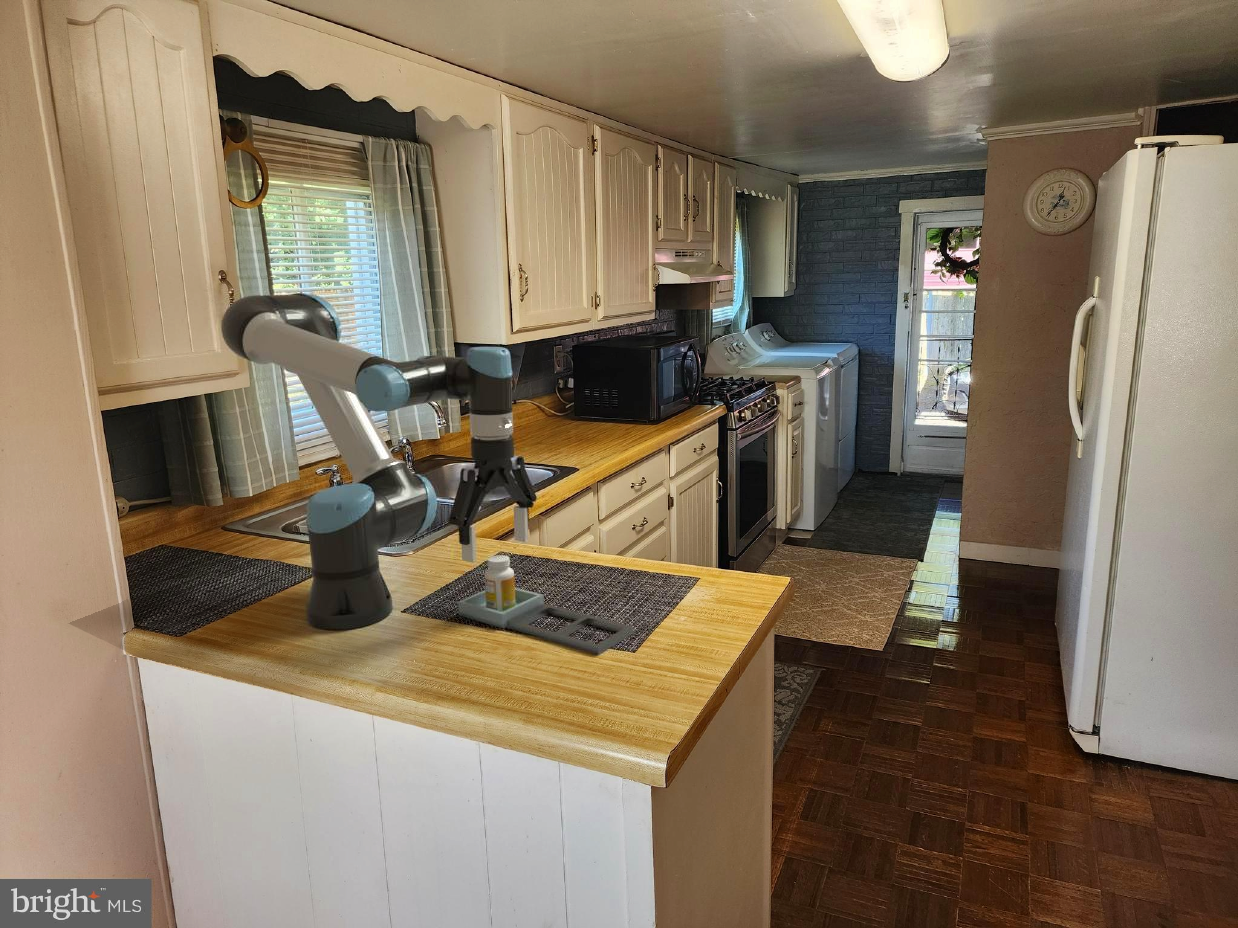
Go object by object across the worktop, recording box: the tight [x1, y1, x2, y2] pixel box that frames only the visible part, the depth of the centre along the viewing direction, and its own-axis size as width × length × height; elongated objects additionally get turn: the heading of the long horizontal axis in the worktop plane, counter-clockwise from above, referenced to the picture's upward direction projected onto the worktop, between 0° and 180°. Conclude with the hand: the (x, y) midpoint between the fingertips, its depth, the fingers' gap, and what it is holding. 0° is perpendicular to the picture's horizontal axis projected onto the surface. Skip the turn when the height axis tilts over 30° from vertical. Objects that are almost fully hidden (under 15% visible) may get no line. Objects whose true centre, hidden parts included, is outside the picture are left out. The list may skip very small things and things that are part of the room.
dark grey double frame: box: [506, 603, 634, 655], centre depth 147 cm, size 10×20×1 cm, turn 55°
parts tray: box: [457, 587, 545, 629], centre depth 156 cm, size 11×11×3 cm
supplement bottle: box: [484, 554, 516, 612], centre depth 155 cm, size 5×5×10 cm
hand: (496, 550), depth 154 cm, fingers open, 13 cm apart
